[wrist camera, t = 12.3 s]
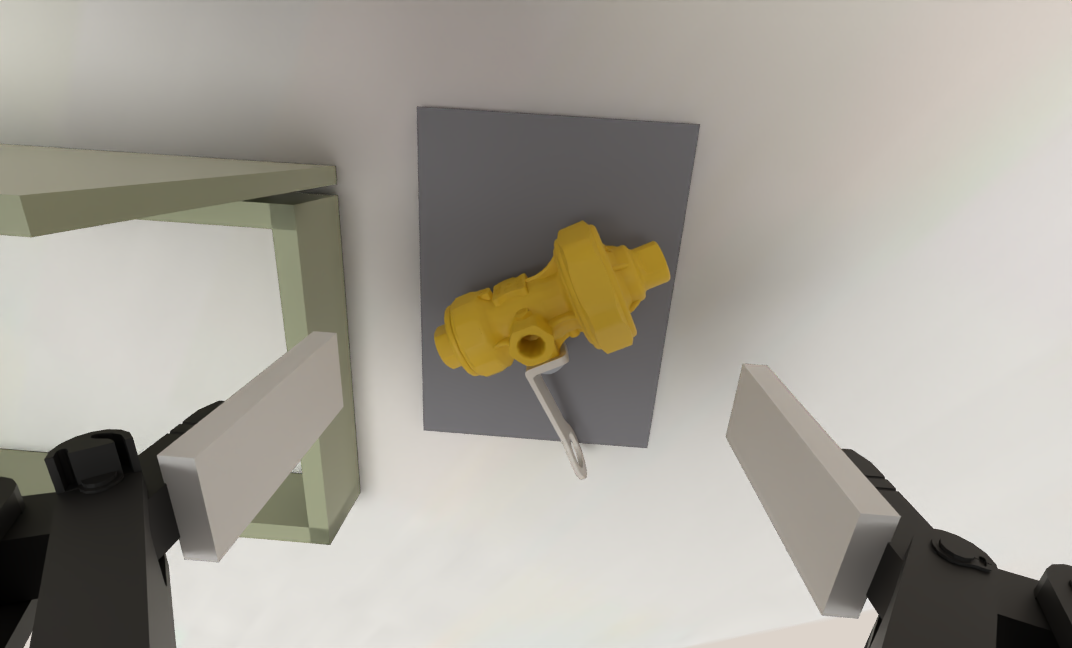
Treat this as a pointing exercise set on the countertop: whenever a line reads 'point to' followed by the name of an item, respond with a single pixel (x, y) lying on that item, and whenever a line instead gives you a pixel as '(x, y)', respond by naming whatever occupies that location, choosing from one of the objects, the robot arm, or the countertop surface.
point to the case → (216, 199)
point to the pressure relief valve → (553, 315)
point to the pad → (545, 256)
